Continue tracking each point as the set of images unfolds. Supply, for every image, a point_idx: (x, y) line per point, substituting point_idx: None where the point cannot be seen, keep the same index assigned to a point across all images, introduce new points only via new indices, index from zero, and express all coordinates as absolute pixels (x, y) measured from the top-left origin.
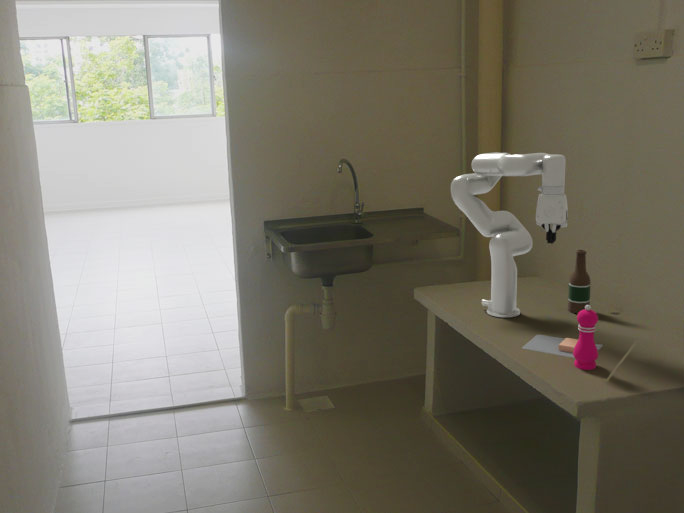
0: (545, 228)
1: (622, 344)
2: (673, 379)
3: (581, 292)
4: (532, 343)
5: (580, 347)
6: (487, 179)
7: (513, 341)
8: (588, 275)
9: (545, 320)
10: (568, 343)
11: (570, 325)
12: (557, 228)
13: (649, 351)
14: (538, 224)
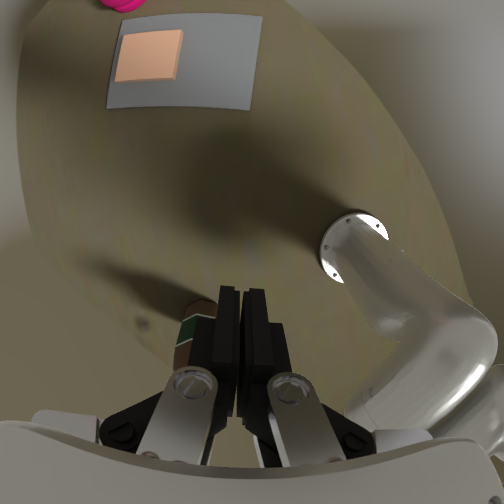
0: (315, 408)
1: (81, 144)
2: (25, 46)
3: (188, 331)
4: (246, 47)
5: None
6: None
7: (292, 58)
8: None
9: (256, 231)
10: (162, 46)
11: (194, 217)
12: (141, 414)
13: (44, 134)
14: (408, 438)
